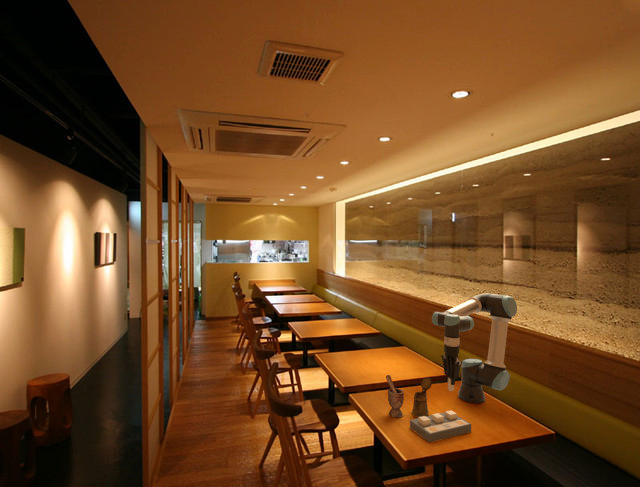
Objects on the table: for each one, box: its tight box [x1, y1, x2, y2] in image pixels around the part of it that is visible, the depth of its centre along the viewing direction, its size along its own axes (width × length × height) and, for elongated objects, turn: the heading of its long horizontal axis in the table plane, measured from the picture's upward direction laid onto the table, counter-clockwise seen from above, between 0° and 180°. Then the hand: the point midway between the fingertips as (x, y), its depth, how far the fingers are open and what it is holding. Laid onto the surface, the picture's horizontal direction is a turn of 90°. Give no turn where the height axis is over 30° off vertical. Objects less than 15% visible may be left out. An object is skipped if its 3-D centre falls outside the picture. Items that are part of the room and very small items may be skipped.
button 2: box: [444, 409, 458, 420], centre depth 194 cm, size 4×4×4 cm
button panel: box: [409, 412, 472, 443], centre depth 189 cm, size 26×15×4 cm, turn 113°
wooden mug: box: [411, 377, 433, 418], centre depth 208 cm, size 9×14×18 cm, turn 134°
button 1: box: [418, 416, 430, 426], centre depth 188 cm, size 4×4×4 cm
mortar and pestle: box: [385, 374, 405, 419], centre depth 207 cm, size 12×9×20 cm
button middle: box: [431, 412, 444, 423], centre depth 191 cm, size 4×4×4 cm
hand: (451, 390), depth 194 cm, fingers closed
